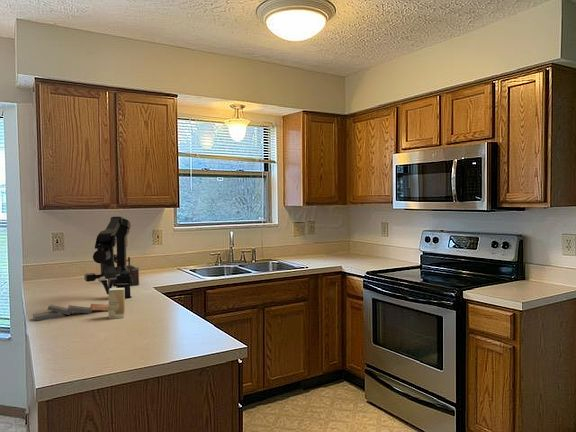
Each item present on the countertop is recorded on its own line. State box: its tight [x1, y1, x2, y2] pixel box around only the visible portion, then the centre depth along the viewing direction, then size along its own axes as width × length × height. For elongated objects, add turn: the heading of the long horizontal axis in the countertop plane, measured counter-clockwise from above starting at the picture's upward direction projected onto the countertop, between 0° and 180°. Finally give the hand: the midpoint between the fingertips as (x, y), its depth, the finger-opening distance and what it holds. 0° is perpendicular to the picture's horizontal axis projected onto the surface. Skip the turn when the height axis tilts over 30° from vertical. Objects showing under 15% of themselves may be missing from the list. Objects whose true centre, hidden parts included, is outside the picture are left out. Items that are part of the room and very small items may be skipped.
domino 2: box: [47, 304, 73, 316], centre depth 193 cm, size 2×5×9 cm
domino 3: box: [41, 313, 66, 321], centre depth 191 cm, size 2×5×9 cm
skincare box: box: [108, 287, 126, 319], centre depth 189 cm, size 6×4×12 cm
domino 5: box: [89, 303, 109, 312], centre depth 201 cm, size 2×5×9 cm
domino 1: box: [32, 310, 60, 322], centre depth 189 cm, size 2×5×9 cm
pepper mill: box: [114, 253, 140, 287], centre depth 263 cm, size 16×11×18 cm
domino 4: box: [67, 304, 93, 315], centre depth 196 cm, size 2×5×9 cm
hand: (108, 294), depth 203 cm, fingers closed
